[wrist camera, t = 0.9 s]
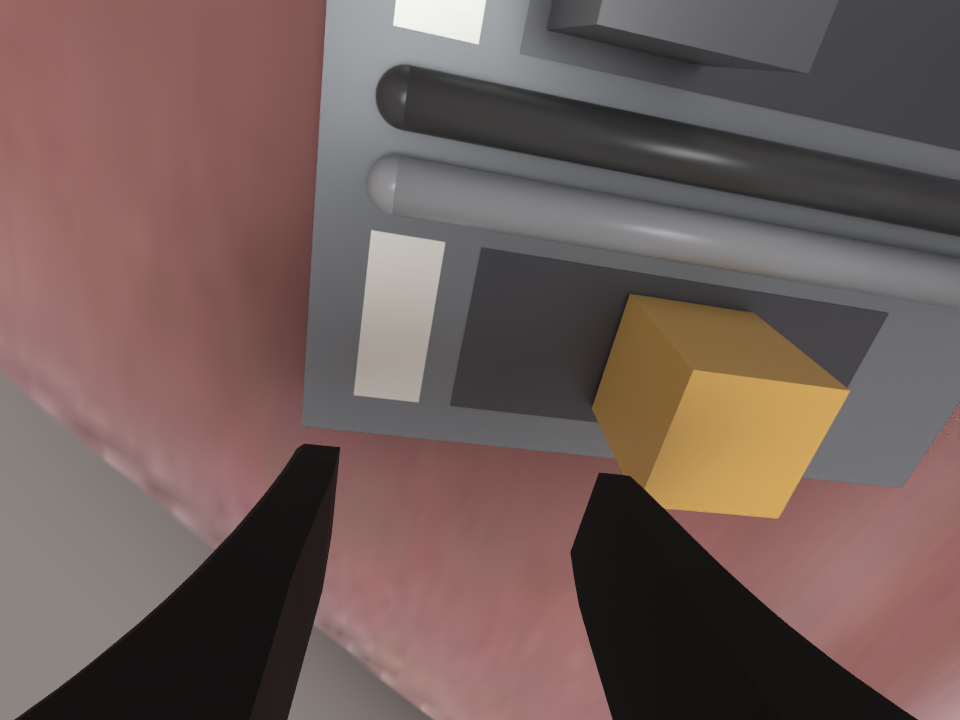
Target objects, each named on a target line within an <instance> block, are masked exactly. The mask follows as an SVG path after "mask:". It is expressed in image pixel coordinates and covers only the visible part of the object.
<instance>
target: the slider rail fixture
mask: <svg viewBox="0 0 960 720" xmlns="http://www.w3.org/2000/svg"><path fill="white" fill-rule="evenodd" d="M630 294H635V295H642V296H648V297H655V298H661V299H668V300H674V301H681V302H687V303H694V304H700V305H707V306H713V307H720V308H726V309H733V310H739V311H746V312H752V313H755V314H756V315H757V316H759V317H760V318H761V319H762V320H764V321H765V322H766V323H767V324H769V325H770V326H771V327H772V328H773V329H775V330H776V331H777V332H778V333H780V334H781V335H782V336H783V337H785V338H786V339H787V340H788V341H790V342H791V343H792V344H793V345H795V346H796V347H797V348H798V349H799V350H801V351H802V352H803V353H804V354H806V355H807V356H808V357H809V358H811V359H812V360H813V361H814V362H816V363H817V364H818V365H819V366H820V367H822V368H823V369H824V370H825V371H827V372H828V373H829V374H830V375H832V376H833V377H834V378H835V379H837V380H838V381H839V382H840V383H842V384H843V385H844V386H845V387H846V388H848V389H849V390H850V392H849V394H848V396H847V398H846V400H845V401H844V403H843V405H842V407H841V408H840V410H839V412H838V414H837V415H836V417H835V419H834V421H833V423H832V424H831V426H830V428H829V430H828V431H827V433H826V435H825V437H824V438H823V440H822V442H821V444H820V446H819V447H818V449H817V451H816V453H815V454H814V456H813V458H812V460H811V461H810V463H809V465H808V467H807V469H806V470H805V472H804V474H803V476H802V477H801V478H809V479H819V480H828V481H838V482H848V483H857V484H867V485H877V486H887V487H896V488H902V487H903V486H904V484H905V483H906V481H907V480H908V478H909V477H910V475H911V474H912V472H913V471H914V469H915V468H916V466H917V465H918V463H919V462H920V460H921V459H922V458H923V456H924V455H925V453H926V452H927V450H928V449H929V447H930V446H931V444H932V443H933V441H934V440H935V438H936V437H937V435H938V434H939V432H940V431H941V429H942V428H943V426H944V425H945V423H946V422H947V420H948V419H949V417H950V416H951V414H952V413H953V411H954V410H955V408H956V407H957V405H958V404H959V403H960V0H327V6H326V23H325V40H324V56H323V73H322V90H321V106H320V123H319V140H318V156H317V173H316V190H315V206H314V223H313V240H312V256H311V273H310V290H309V306H308V323H307V340H306V356H305V373H304V390H303V406H302V423H301V426H303V427H313V428H323V429H333V430H342V431H352V432H362V433H371V434H381V435H391V436H401V437H410V438H420V439H430V440H439V441H449V442H459V443H469V444H478V445H488V446H498V447H507V448H517V449H527V450H537V451H546V452H556V453H566V454H576V455H585V456H595V457H605V458H614V459H615V457H614V455H613V453H612V451H611V449H610V446H609V444H608V442H607V440H606V438H605V436H604V434H603V432H602V429H601V427H600V425H599V423H598V421H597V419H596V417H595V414H594V412H593V410H592V406H593V403H594V400H595V397H596V394H597V391H598V388H599V385H600V382H601V379H602V376H603V373H604V370H605V367H606V364H607V361H608V358H609V355H610V352H611V349H612V346H613V343H614V340H615V337H616V334H617V331H618V328H619V325H620V322H621V319H622V316H623V313H624V310H625V307H626V304H627V301H628V298H629V295H630Z"/></svg>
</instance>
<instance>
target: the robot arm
mask: <svg viewBox="0 0 960 720" xmlns="http://www.w3.org/2000/svg"><path fill="white" fill-rule="evenodd" d="M339 454H340V447H332V446H322V445H311V444H303V445H302V446H300V447H299V448H297V449H296V451H295V453H294V454H293V456H292V457H291V459H290V460H289V462H288V463H287V465H286V466H285V468H284V469H283V471H282V472H281V473H280V475H279V476H278V478H277V479H276V480H275V481H274V483H273V484H272V485H271V487H270V488H269V489H268V491H267V492H266V493H265V494H264V496H263V497H262V498H261V499H260V500H259V502H258V503H257V504H256V505H255V506H254V508H253V509H252V510H251V511H250V512H249V513H248V515H247V516H246V517H245V518H244V519H243V521H242V522H241V523H240V524H239V525H238V526H237V527H236V529H235V530H234V531H233V532H232V533H231V534H230V535H229V536H228V537H227V538H226V539H225V540H224V542H223V543H222V544H221V545H220V546H219V547H218V548H217V549H216V550H215V551H214V552H213V553H212V554H211V555H210V556H209V557H208V558H207V559H206V560H205V561H204V563H203V564H202V565H201V566H200V567H199V568H198V569H197V570H196V571H195V572H194V573H193V574H192V575H191V576H190V577H189V578H188V579H187V580H185V582H183V583H182V585H180V586H179V587H178V588H177V589H176V590H175V591H174V592H173V593H172V594H171V595H170V596H169V597H168V598H166V600H164V601H163V602H162V603H161V604H160V605H159V606H158V607H157V608H155V609H154V610H153V611H152V612H151V613H150V614H149V615H147V616H146V617H145V618H144V619H143V620H142V621H141V622H140V623H139V624H137V625H136V626H135V627H134V628H133V629H131V630H130V631H129V632H128V633H126V634H125V635H124V636H123V637H122V638H120V639H119V640H118V641H117V642H116V643H114V644H113V645H112V646H111V647H110V648H108V649H107V650H106V651H105V652H103V653H102V654H101V655H100V656H99V657H97V658H96V659H95V660H94V661H93V662H91V663H90V664H89V665H87V666H86V667H85V668H84V669H82V670H81V671H80V672H79V673H77V674H76V675H75V676H73V677H72V678H71V679H70V680H68V681H67V682H66V683H64V684H63V685H62V686H60V687H59V688H58V689H56V690H55V691H54V692H52V693H51V694H49V695H48V696H47V697H46V698H44V699H43V700H41V701H40V702H38V703H37V704H36V705H34V706H33V707H31V708H30V709H29V710H27V711H26V712H25V713H23V714H22V715H21V716H19V717H18V718H16V719H15V720H287V719H288V715H289V711H290V708H291V704H292V700H293V697H294V693H295V689H296V686H297V682H298V678H299V675H300V671H301V667H302V663H303V660H304V656H305V652H306V649H307V645H308V642H309V638H310V634H311V630H312V627H313V623H314V619H315V616H316V612H317V608H318V605H319V601H320V597H321V593H322V589H323V583H324V577H325V571H326V565H327V559H328V553H329V547H330V541H331V535H332V525H333V515H334V504H335V494H336V484H337V474H338V464H339ZM571 559H572V566H573V573H574V580H575V585H576V591H577V597H578V602H579V607H580V610H581V614H582V618H583V621H584V624H585V628H586V631H587V635H588V638H589V642H590V645H591V649H592V652H593V655H594V659H595V662H596V665H597V669H598V672H599V675H600V679H601V682H602V685H603V689H604V692H605V695H606V699H607V702H608V705H609V709H610V712H611V715H612V719H613V720H917V719H916V718H914V717H913V716H911V715H910V714H908V713H907V712H905V711H904V710H902V709H901V708H899V707H898V706H897V705H895V704H894V703H892V702H891V701H889V700H888V699H887V698H885V697H884V696H882V695H881V694H879V693H878V692H877V691H875V690H874V689H872V688H871V687H869V686H868V685H867V684H865V683H864V682H862V681H861V680H859V679H858V678H857V677H855V676H854V675H853V674H851V673H850V672H848V671H847V670H846V669H844V668H843V667H842V666H840V665H839V664H838V663H836V662H835V661H834V660H832V659H831V658H830V657H828V656H827V655H826V654H825V653H823V652H822V651H821V650H820V649H818V648H817V647H816V646H814V645H813V644H812V643H811V642H809V641H808V640H807V639H806V638H804V637H803V636H802V635H801V634H799V633H798V632H797V631H795V630H794V629H793V628H792V627H790V626H789V625H788V624H787V623H786V622H784V621H783V620H782V619H781V618H780V617H778V616H777V615H776V614H775V613H774V612H772V611H771V610H770V609H769V608H768V607H767V606H766V605H764V604H763V603H762V602H761V601H760V600H759V599H758V598H757V597H756V596H754V595H753V594H752V593H751V592H750V591H749V590H748V589H747V588H745V587H744V586H743V585H742V584H741V583H740V582H739V581H738V580H736V579H735V578H734V577H733V576H732V575H731V574H730V573H729V572H728V571H727V570H726V569H725V568H724V567H723V566H722V565H720V564H719V563H718V562H717V561H716V560H715V559H714V558H713V557H712V556H711V555H710V554H709V553H708V552H707V551H706V550H705V549H704V548H703V547H702V546H701V545H700V544H699V543H698V542H697V541H696V540H695V539H694V538H693V537H692V536H691V535H690V534H689V533H688V532H687V531H686V530H685V529H684V528H683V527H682V526H681V525H680V524H679V523H678V522H677V521H676V520H675V519H674V518H673V517H672V516H671V515H670V514H669V513H668V512H667V511H666V510H665V509H664V508H663V507H662V506H661V505H660V504H659V503H658V502H657V501H656V500H655V499H654V498H653V497H652V496H651V495H650V494H649V493H648V492H647V491H646V490H645V489H644V488H643V487H642V486H641V485H639V484H638V483H637V482H636V481H635V480H634V479H633V478H632V477H631V476H628V475H617V474H607V473H599V474H598V477H597V480H596V483H595V485H594V488H593V491H592V494H591V497H590V499H589V502H588V505H587V508H586V510H585V513H584V516H583V519H582V522H581V524H580V527H579V530H578V533H577V535H576V538H575V541H574V544H573V547H572V549H571Z"/></svg>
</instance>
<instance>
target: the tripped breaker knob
mask: <svg viewBox="0 0 960 720" xmlns="http://www.w3.org/2000/svg"><path fill="white" fill-rule="evenodd" d="M849 392H850V390H849V389H848V388H846V387H845V386H844V385H843V384H842V383H840V382H839V381H838V380H837V379H835V378H834V377H833V376H832V375H830V374H829V373H828V372H827V371H825V370H824V369H823V368H822V367H820V366H819V365H818V364H817V363H816V362H814V361H813V360H812V359H811V358H809V357H808V356H807V355H806V354H804V353H803V352H802V351H801V350H799V349H798V348H797V347H796V346H795V345H793V344H792V343H791V342H790V341H788V340H787V339H786V338H785V337H783V336H782V335H781V334H780V333H778V332H777V331H776V330H775V329H773V328H772V327H771V326H770V325H769V324H767V323H766V322H765V321H764V320H762V319H761V318H760V317H759V316H757V315H756V314H755V313H752V312H746V311H739V310H733V309H726V308H720V307H713V306H707V305H700V304H694V303H687V302H681V301H674V300H668V299H661V298H655V297H648V296H642V295H635V294H630V295H629V298H628V301H627V304H626V307H625V310H624V313H623V316H622V319H621V322H620V325H619V328H618V331H617V334H616V337H615V340H614V343H613V346H612V349H611V352H610V355H609V358H608V361H607V364H606V367H605V370H604V373H603V376H602V379H601V382H600V385H599V388H598V391H597V394H596V397H595V400H594V403H593V406H592V410H593V412H594V414H595V417H596V419H597V421H598V423H599V425H600V427H601V429H602V432H603V434H604V436H605V438H606V440H607V442H608V444H609V446H610V449H611V451H612V453H613V455H614V457H615V459H616V461H617V464H618V466H619V468H620V470H621V472H622V474H623V475H628V476H631V477H632V478H633V479H634V480H635V481H636V482H637V483H638V484H639V485H641V486H642V487H643V488H644V489H645V490H646V491H647V492H648V493H649V494H650V495H651V496H652V497H653V498H654V499H655V500H656V501H657V502H658V503H659V504H660V505H661V506H662V507H663V508H665V509H676V510H687V511H699V512H710V513H721V514H732V515H744V516H755V517H766V518H777V519H778V518H779V516H780V515H781V513H782V511H783V509H784V508H785V506H786V504H787V502H788V500H789V499H790V497H791V495H792V493H793V492H794V490H795V488H796V486H797V485H798V483H799V481H800V479H801V477H802V476H803V474H804V472H805V470H806V469H807V467H808V465H809V463H810V461H811V460H812V458H813V456H814V454H815V453H816V451H817V449H818V447H819V446H820V444H821V442H822V440H823V438H824V437H825V435H826V433H827V431H828V430H829V428H830V426H831V424H832V423H833V421H834V419H835V417H836V415H837V414H838V412H839V410H840V408H841V407H842V405H843V403H844V401H845V400H846V398H847V396H848V394H849Z"/></svg>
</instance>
